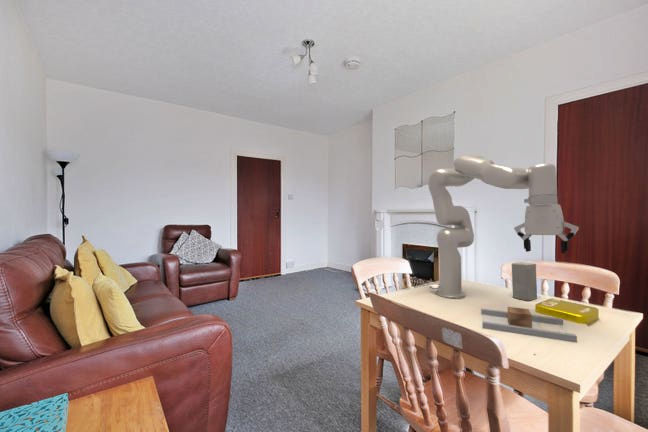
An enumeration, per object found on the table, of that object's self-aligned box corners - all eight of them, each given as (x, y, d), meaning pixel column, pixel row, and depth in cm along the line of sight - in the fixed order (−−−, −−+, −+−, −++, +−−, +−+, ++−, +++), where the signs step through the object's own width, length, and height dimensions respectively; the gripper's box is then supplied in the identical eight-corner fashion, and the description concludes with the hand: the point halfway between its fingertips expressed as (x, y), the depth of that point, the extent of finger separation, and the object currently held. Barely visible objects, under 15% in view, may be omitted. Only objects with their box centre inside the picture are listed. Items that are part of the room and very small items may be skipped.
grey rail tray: (482, 331, 94) (482, 322, 94) (481, 316, 107) (481, 308, 107) (576, 346, 83) (576, 336, 83) (562, 327, 96) (562, 318, 96)
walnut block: (509, 327, 94) (509, 312, 94) (507, 320, 99) (507, 306, 99) (531, 330, 91) (531, 315, 91) (528, 323, 97) (528, 309, 96)
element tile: (584, 329, 95) (584, 315, 95) (533, 315, 108) (533, 303, 108) (600, 320, 103) (600, 306, 103) (550, 308, 116) (550, 296, 115)
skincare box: (527, 301, 122) (527, 265, 122) (510, 297, 129) (510, 262, 128) (538, 298, 126) (538, 263, 126) (521, 294, 133) (520, 260, 132)
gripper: (509, 202, 100) (511, 251, 99) (574, 198, 86) (577, 255, 86) (517, 203, 104) (519, 249, 104) (579, 199, 91) (582, 252, 91)
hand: (545, 252), depth 95 cm, fingers open, 9 cm apart
